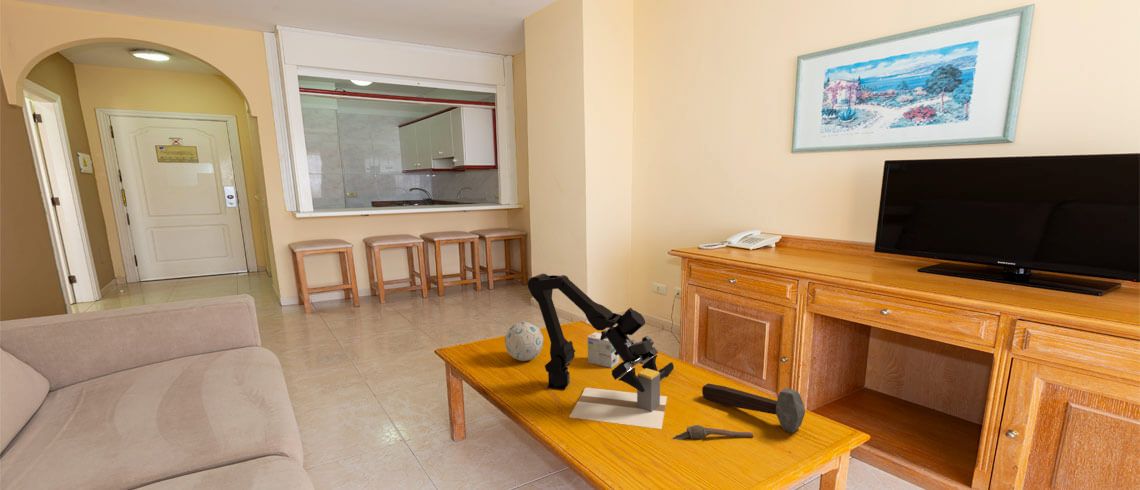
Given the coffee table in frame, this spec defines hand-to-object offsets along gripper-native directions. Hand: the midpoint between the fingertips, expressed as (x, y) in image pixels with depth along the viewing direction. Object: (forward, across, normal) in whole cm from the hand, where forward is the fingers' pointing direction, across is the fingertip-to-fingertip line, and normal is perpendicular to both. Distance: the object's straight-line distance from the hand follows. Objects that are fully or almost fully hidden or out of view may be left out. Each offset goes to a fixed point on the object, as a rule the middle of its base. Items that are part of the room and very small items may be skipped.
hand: (651, 386), depth 141 cm
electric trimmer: (-1, +23, +13) cm, 27 cm away
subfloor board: (0, -5, +11) cm, 12 cm away
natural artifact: (+21, -3, -9) cm, 23 cm away
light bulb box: (-18, +20, +30) cm, 40 cm away
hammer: (+22, +16, -11) cm, 30 cm away
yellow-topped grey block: (+4, 0, +6) cm, 7 cm away
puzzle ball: (-37, +3, +48) cm, 61 cm away
